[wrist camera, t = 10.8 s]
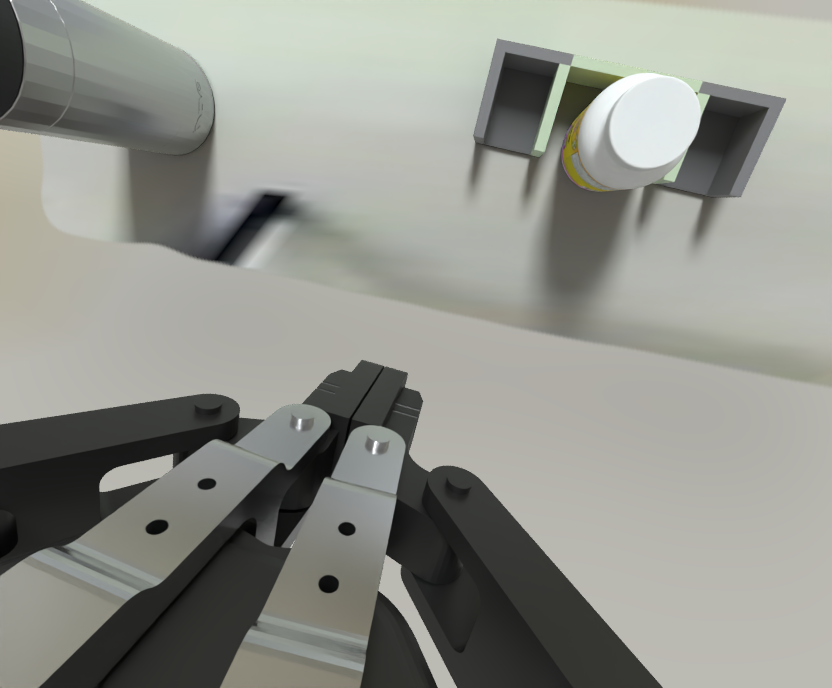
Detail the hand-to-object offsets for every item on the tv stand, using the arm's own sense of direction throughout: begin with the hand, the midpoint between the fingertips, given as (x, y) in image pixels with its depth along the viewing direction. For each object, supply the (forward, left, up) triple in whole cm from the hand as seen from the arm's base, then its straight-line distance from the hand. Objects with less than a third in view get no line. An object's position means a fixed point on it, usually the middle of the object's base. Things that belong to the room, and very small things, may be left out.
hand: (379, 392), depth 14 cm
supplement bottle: (+9, +12, -29) cm, 33 cm away
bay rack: (+9, +14, -29) cm, 33 cm away
